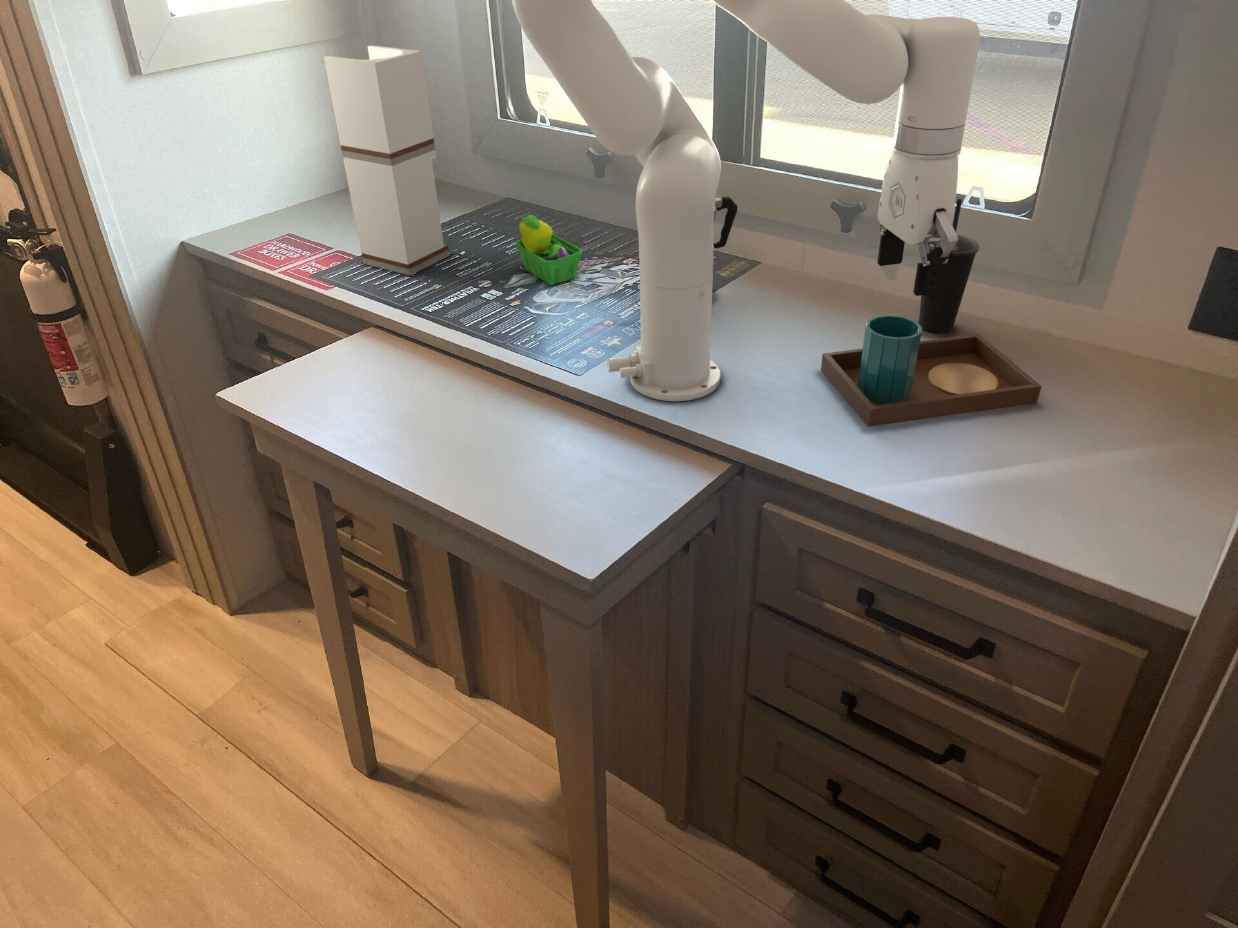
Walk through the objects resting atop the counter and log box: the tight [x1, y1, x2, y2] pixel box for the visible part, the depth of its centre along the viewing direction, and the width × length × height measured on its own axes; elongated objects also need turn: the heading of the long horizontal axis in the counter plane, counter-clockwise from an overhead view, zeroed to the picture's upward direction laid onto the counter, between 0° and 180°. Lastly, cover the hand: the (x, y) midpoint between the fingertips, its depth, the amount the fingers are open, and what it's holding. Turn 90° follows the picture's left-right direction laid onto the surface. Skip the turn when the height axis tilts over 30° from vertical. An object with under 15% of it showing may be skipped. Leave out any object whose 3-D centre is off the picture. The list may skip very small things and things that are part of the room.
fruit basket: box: [514, 214, 583, 286], centre depth 157 cm, size 11×9×11 cm
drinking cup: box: [918, 198, 981, 335], centre depth 133 cm, size 8×8×20 cm
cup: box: [858, 314, 923, 404], centre depth 120 cm, size 7×7×10 cm
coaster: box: [928, 363, 998, 395], centre depth 125 cm, size 9×9×1 cm
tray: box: [820, 333, 1043, 428], centre depth 123 cm, size 24×16×3 cm, turn 102°
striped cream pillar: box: [323, 45, 451, 276], centre depth 158 cm, size 11×11×35 cm
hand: (907, 278), depth 114 cm, fingers open, 9 cm apart
